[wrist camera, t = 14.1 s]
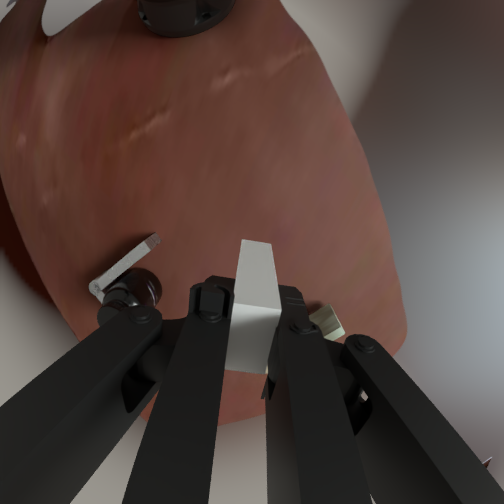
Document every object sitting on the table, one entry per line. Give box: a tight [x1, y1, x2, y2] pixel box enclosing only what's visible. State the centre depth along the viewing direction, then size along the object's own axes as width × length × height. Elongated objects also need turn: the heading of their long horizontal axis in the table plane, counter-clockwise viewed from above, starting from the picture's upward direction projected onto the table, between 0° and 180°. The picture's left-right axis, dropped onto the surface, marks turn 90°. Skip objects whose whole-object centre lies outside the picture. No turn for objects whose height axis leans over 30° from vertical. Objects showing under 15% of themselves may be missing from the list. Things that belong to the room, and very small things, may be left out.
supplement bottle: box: [97, 268, 162, 327], centre depth 37 cm, size 7×7×12 cm
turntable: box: [265, 304, 345, 373], centre depth 41 cm, size 17×12×7 cm
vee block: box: [89, 232, 162, 303], centre depth 41 cm, size 18×10×5 cm, turn 169°
